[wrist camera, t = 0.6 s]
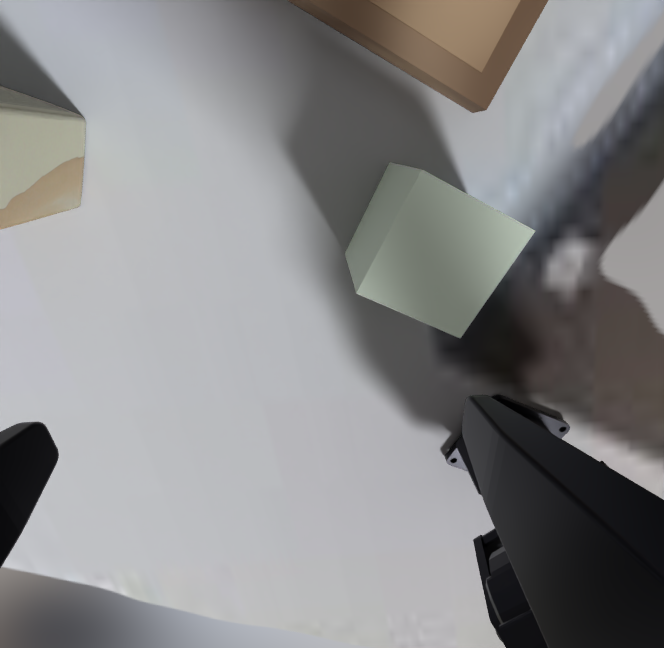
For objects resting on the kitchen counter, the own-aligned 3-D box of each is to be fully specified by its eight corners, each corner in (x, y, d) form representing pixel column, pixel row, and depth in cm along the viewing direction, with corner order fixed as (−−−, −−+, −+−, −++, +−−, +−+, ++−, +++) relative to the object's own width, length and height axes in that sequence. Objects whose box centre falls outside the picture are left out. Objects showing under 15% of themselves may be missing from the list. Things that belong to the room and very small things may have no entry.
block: (472, 206, 19) (535, 231, 14) (422, 288, 21) (460, 338, 15) (389, 162, 18) (421, 169, 12) (344, 253, 20) (356, 293, 14)
